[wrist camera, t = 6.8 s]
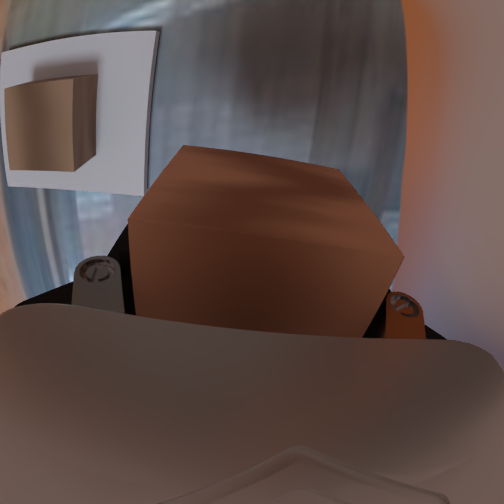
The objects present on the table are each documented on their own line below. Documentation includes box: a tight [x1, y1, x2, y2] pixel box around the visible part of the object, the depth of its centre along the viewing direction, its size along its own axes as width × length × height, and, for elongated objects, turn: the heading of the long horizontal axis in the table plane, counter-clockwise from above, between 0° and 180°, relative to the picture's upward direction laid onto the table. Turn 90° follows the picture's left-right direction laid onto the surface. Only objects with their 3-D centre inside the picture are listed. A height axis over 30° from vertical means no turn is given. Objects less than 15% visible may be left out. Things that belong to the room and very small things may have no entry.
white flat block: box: [0, 31, 160, 196], centre depth 19 cm, size 16×14×5 cm
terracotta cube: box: [128, 145, 404, 338], centre depth 10 cm, size 6×6×6 cm
